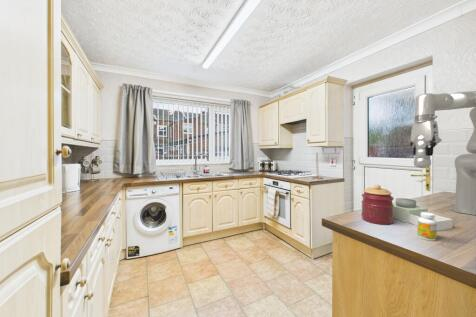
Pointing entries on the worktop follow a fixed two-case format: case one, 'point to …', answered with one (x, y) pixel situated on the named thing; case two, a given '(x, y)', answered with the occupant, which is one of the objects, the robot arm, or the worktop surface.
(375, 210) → the canister
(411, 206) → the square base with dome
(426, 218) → the supplement bottle
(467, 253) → the worktop surface
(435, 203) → the worktop surface
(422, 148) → the silver bottle
